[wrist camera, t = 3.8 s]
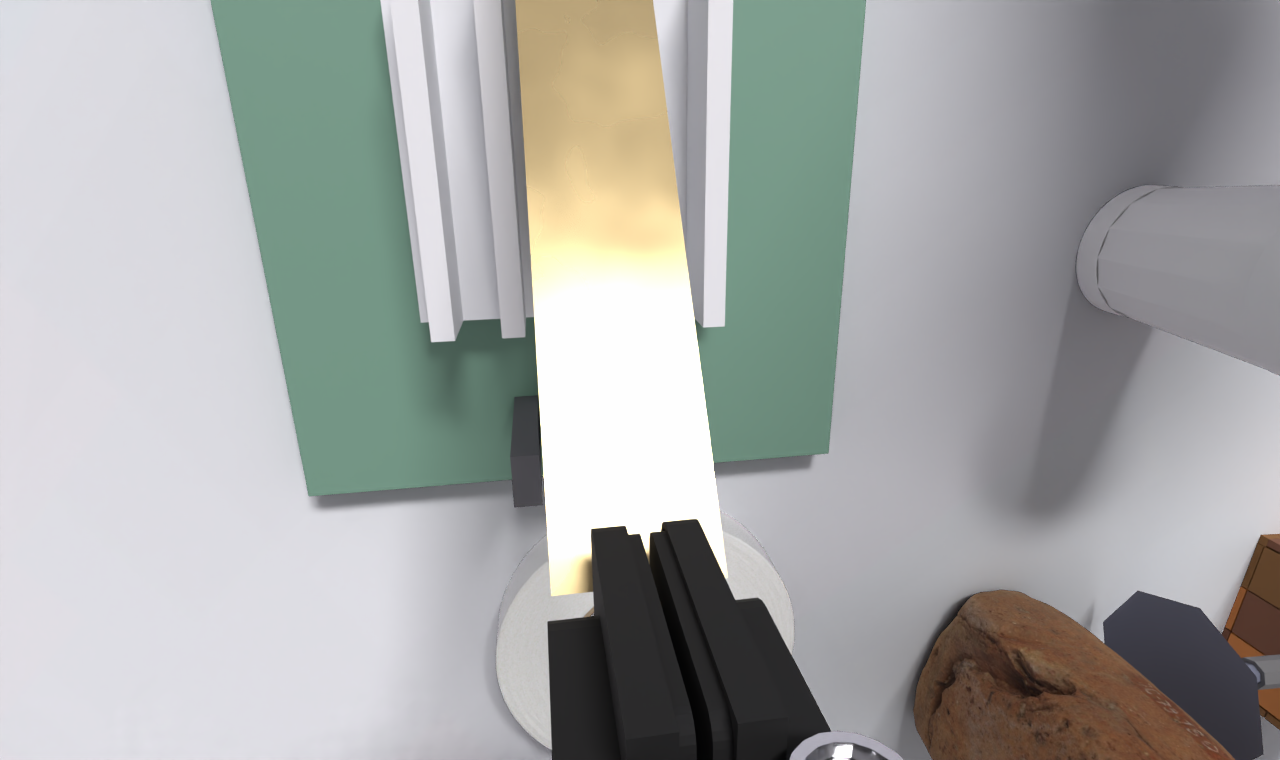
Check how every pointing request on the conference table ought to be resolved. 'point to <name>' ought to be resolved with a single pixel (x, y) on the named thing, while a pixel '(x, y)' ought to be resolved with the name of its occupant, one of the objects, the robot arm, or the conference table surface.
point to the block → (1043, 692)
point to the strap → (609, 285)
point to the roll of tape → (533, 607)
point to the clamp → (1212, 654)
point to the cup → (1191, 265)
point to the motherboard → (527, 224)
